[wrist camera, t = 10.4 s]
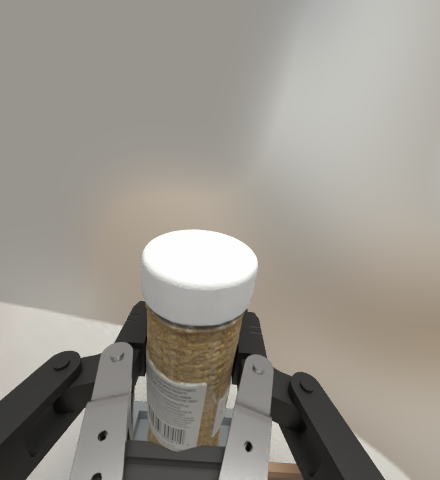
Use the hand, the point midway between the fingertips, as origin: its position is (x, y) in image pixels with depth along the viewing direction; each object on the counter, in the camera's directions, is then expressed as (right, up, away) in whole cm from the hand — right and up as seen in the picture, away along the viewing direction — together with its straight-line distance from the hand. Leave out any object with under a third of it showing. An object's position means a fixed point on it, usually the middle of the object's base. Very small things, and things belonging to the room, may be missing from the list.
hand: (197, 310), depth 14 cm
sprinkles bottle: (-1, -8, +1) cm, 8 cm away
